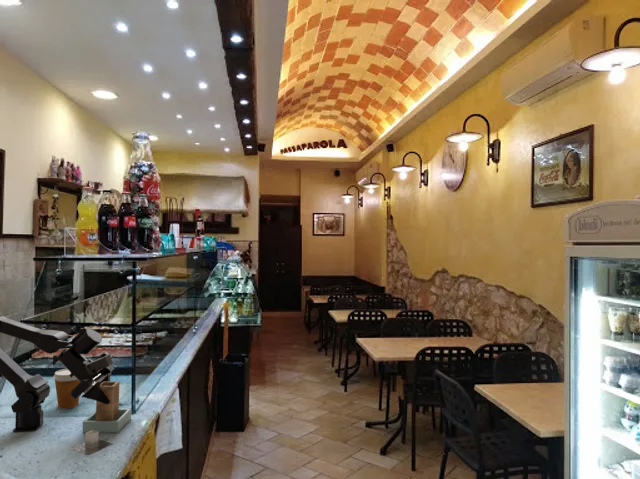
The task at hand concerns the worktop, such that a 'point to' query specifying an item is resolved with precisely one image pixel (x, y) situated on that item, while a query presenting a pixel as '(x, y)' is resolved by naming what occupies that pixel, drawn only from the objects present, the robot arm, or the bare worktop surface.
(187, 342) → the worktop surface
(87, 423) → the tray
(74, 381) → the disposable coffee cup
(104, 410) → the sleeve
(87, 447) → the stake base
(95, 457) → the worktop surface
